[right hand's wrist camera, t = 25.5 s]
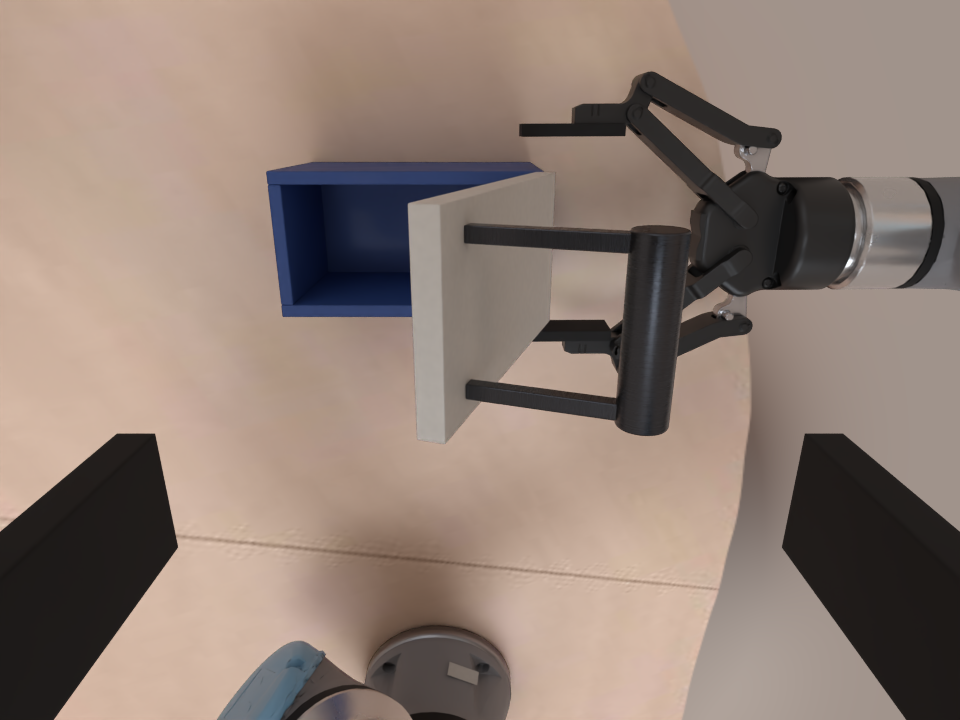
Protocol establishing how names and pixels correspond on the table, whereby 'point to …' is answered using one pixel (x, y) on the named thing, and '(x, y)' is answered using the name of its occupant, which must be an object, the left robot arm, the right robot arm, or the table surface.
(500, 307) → the lid
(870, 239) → the left robot arm
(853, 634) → the right robot arm
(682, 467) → the table surface
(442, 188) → the blue cabinet box
